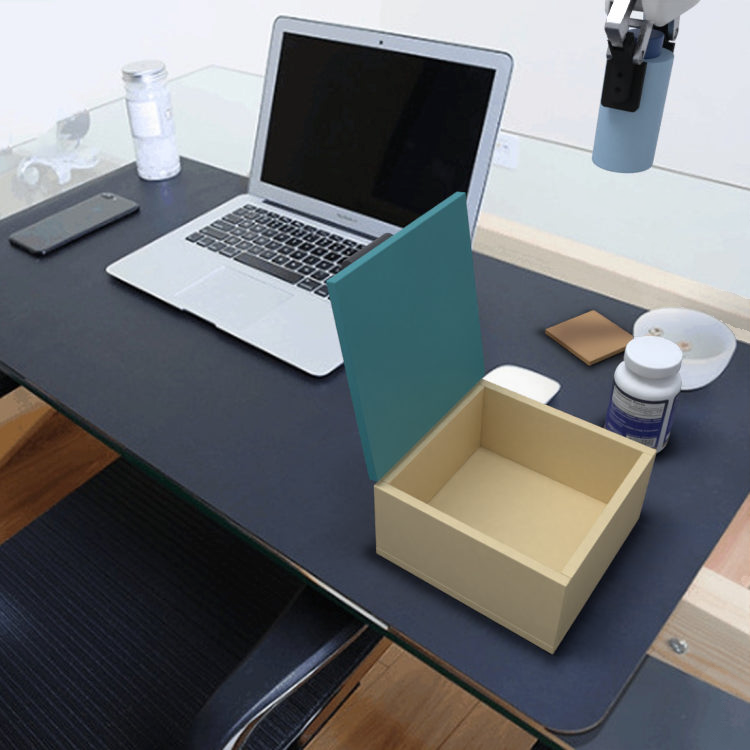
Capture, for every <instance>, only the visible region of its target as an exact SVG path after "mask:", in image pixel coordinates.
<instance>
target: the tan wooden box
mask: <svg viewBox="0 0 750 750" xmlns="http://www.w3.org/2000/svg"><path fill="white" fill-rule="evenodd" d="M656 452H657V450H655V449H652V448H650V447H647V446H645V445H643V444H640V443H638V442H635V441H633V440H630V439H628V438H626V437H623V436H621V435H618V434H616V433H613V432H611V431H608V430H606V429H604V427H601V426H598V425H597V424H594V423H591V422H589V421H586V420H584V419H582V418H579V417H577V416H574V415H572V414H569V413H567V412H565V411H563V410H560V409H557V408H556V407H555V408H554V407H553V406H550V405H547V404H545V403H542V402H540V401H538V400H535V399H533V398H530V397H528V396H525V395H523V394H520V393H518V392H516V391H513V390H510V389H508V388H506V387H503V386H501V385H499V384H496V383H493V382H491V381H490V380H489V381H488V380H487V379H484V378H482V379H481V380H480V381H479V382H478V383H477V384H476V385H475V386H474V387H473V388H472V389H471V390H470V391H469V392H468V393H467V394H466V395H465V396H464V397H463V398H462V399H461V400H460V401H459V402H458V403H457V404H456V405H455V406H454V407H453V408H452V409H451V410H450V411H449V412H448V413H447V414H446V415H445V416H443V417H442V418H441V419H440V420H439V421H438V422H437V423H436V424H435V425H434V426H433V427H432V428H431V429H430V430H429V431H428V432H427V433H426V434H425V435H424V436H423V437H422V438H421V439H420V440H419V441H418V442H417V443H416V444H415V445H414V446H413V447H412V448H411V449H410V450H409V451H408V452H407V453H406V454H405V455H404V456H403V457H402V458H401V459H400V460H399V461H398V462H397V463H396V464H395V465H394V466H393V467H392V468H391V469H390V470H389V471H388V472H387V473H386V474H385V475H384V476H383V477H382V478H381V479H380V480H379V481H378V482H376V483H375V484H374V485H373V493H374V495H373V496H374V497H373V498H374V524H375V527H374V528H375V549H376V551H375V553H376V555H379V556H381V557H382V558H384V559H385V560H388V561H390V562H391V563H392V564H394V565H396V566H397V567H399V568H401V569H403V570H405V571H406V572H408V573H410V574H411V575H413V576H414V577H417V578H419V579H420V580H422V581H424V582H426V583H428V584H429V585H431V586H433V587H434V588H435V589H438V590H440V592H441V591H442V592H443V593H445V594H447V595H448V596H450V597H451V598H454V599H455V600H457V601H458V602H460V603H462V604H464V605H466V606H468V607H469V608H471V609H473V610H474V611H476V612H478V613H480V614H481V615H483V616H485V617H487V618H488V619H490V620H492V621H493V622H495V623H497V624H498V625H501V627H504V628H505V629H507V630H509V631H511V632H513V633H515V634H516V635H518V636H519V637H522V638H523V639H524V640H527V641H529V642H530V643H532V644H533V645H535V646H536V647H539V648H540V649H542V650H544V651H546V652H547V653H549V654H551V655H554V654H555V652H556V650H557V649H558V647H559V646H560V644H561V642H562V641H563V640H564V637H565V636H566V635H567V632H568V631H569V630H570V628H571V627H572V625H573V624H574V622H575V621H576V620H577V617H578V616H579V614H580V612H581V611H582V610H583V608H584V606H585V605H586V603H587V601H588V600H589V598H590V597H591V595H592V593H593V592H594V590H595V589H596V587H597V585H598V584H599V582H600V581H601V579H602V578H603V576H604V574H605V573H606V571H607V570H608V568H609V567H610V565H611V564H612V562H613V561H614V559H615V557H616V555H617V554H618V552H619V551H620V549H621V548H622V546H623V545H624V543H625V541H626V540H627V538H628V537H629V535H630V533H631V532H632V530H633V528H634V527H635V526H636V524H637V522H638V520H639V519H640V515H641V512H642V510H643V509H642V508H643V505H644V501H645V497H646V494H647V490H648V486H649V483H650V479H651V475H652V471H653V467H654V463H655V459H656V455H657V453H656Z"/></svg>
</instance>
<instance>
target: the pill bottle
mask: <svg viewBox="0 0 750 750" xmlns="http://www.w3.org/2000/svg"><path fill="white" fill-rule="evenodd" d="M683 358H684V354H683V352H682V349H681V347H679V345H678V344H676V342H673V341H671V340H670V339H666V338H664V337H661V336H657V335H656V336H655V335H643V336H638V337H635V339H633V340H631V341H630V342H629V343H628V344H627V346H626V349H625V351H624V355H623V361H621V362H620V363H619V364H618V365H617V366H616V368H615V371H614V373H613V379H612V384H611V390H610V394H609V400H608V406H607V410H606V416H605V423H604V426H603V428H604V429H606V430H608V431H611V432H613V433H616V434H618V435H621V436H623V437H626V438H628V439H630V440H633V441H635V442H638V443H640V444H643V445H645V446H647V447H650V448H652V449H655V450H657V452H656V454H658V453H660V452H661V451H663V449H665V447H666V446H667V444H668V441H669V438H670V435H671V431H672V428H673V427H672V426H673V422H674V419H675V414H676V411H677V406H678V403H679V399H680V395H681V391H682V387H683V379H682V376H681V373H680V370H681V368H682V363H683Z"/></svg>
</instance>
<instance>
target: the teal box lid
mask: <svg viewBox="0 0 750 750" xmlns="http://www.w3.org/2000/svg"><path fill="white" fill-rule="evenodd" d="M467 203H468V202H467V194H466V192H462V191H456V192H454V193H453V194H451V195H450V196H449V197H447V198H445V199H444V200H443V201H441V202H440V203H438V204H437V205H436V206H434V207H433V208H431V209H430V210H428V211H426V212H425V213H423V214H422V215H420V216H419V217H417V218H416V219H415V220H414V221H413V220H412V222H411V223H409V224H408V225H406V226H405V227H403V228H402V229H400V230H399V231H397V232H396V233H394V234H393V233H391V232H384V233H383V234H381V235H380V236H379V237H377V238H376V239H374V240H373V241H371V242H370V243H368V244H367V245H365V246H363V247H362V248H361V249H359V250H357V251H356V252H355V253H353V254H352V255H350V256H348V257H347V258H346V259H344V260H343V261H342V263H341V266H340V271H339V272H337V273H335V274H334V275H332V276H331V277H330V278H328V279H327V280H326V281H325V282H326V288H327V292H328V297H329V300H330V306H331V310H332V316H333V320H334V324H335V329H336V334H337V337H338V343H339V348H340V352H341V357H342V362H343V365H344V370H345V375H346V379H347V383H348V389H349V391H350V392H349V393H350V397H351V402H352V407H353V412H354V415H355V420H356V425H357V429H358V434H359V439H360V443H361V447H362V452H363V457H364V461H365V466H366V470H367V475H368V479H369V480H370V481H374V482H376V483H377V482H378V481H379V480H380V479H381V478H382V477H383V476H384V475H385V474H386V473H387V472H388V471H389V470H390V469H391V468H392V467H393V466H394V465H395V464H396V463H397V462H398V461H399V460H400V459H401V458H402V457H403V456H404V455H405V454H406V453H407V452H408V451H409V450H410V449H411V448H412V447H413V446H414V445H415V444H416V443H417V442H418V441H419V440H420V439H421V438H422V437H423V436H424V435H425V434H426V433H427V432H428V431H429V430H430V429H431V428H432V427H433V426H434V425H435V424H436V423H437V422H438V421H439V420H440V419H441V418H442V417H443V416H445V415H446V414H447V413H448V412H449V411H450V410H451V409H452V408H453V407H454V406H455V405H456V404H457V403H458V402H459V401H460V400H461V399H462V398H463V397H464V396H465V395H466V394H467V393H468V392H469V391H470V390H471V389H472V388H473V387H474V386H475V385H476V384H477V383H478V382H479V381H480V380H481V379H484V377H485V376H486V367H485V359H484V357H485V356H484V348H483V341H482V340H483V339H482V330H481V323H480V322H481V321H480V312H479V303H478V295H477V294H478V293H477V286H476V276H475V266H474V258H473V248H472V239H471V231H470V230H471V229H470V221H469V213H468V212H469V211H468V204H467Z"/></svg>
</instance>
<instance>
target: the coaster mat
mask: <svg viewBox="0 0 750 750" xmlns="http://www.w3.org/2000/svg"><path fill="white" fill-rule="evenodd" d="M544 331H545V332H544V333H545V335H547V336H548V337H549V338H551V339H552V340H553V341H555V342H556V343H557V344H559V345H560V346H561V347H563V348H564V349H565V350H567V351H568V352H569V353H571V354H572V355H573V356H575V357H576V358H577V359H579V360H580V361H582V362H583V363H585V364H586V365H587V366H588V367H590V366H592V365H595V364H598V363H600V362H601V361H604V360H606V359H609V358H611V357H613V356H616V355H618V354H621V353H622V352H625V349H626V346H627V344H628V343H629V342H630V341H631V340H633V336H634V335H632V334H630V333H629V332H628V331H626V330H624V329H623V328H621V327H620V326H619V325H617V324H616V323H614V322H612V321H611V320H610V319H608V318H607V317H605V316H604V315H602V314H600V313H599V312H598V311H596V310H594V309H592V310H590V311H588V312H585V313H583V314H580V315H578V316H575V317H573V318H570V319H567V320H565V321H562V322H560V323H558V324H555V325H553V326H550V327H547V328H545V330H544Z"/></svg>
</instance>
